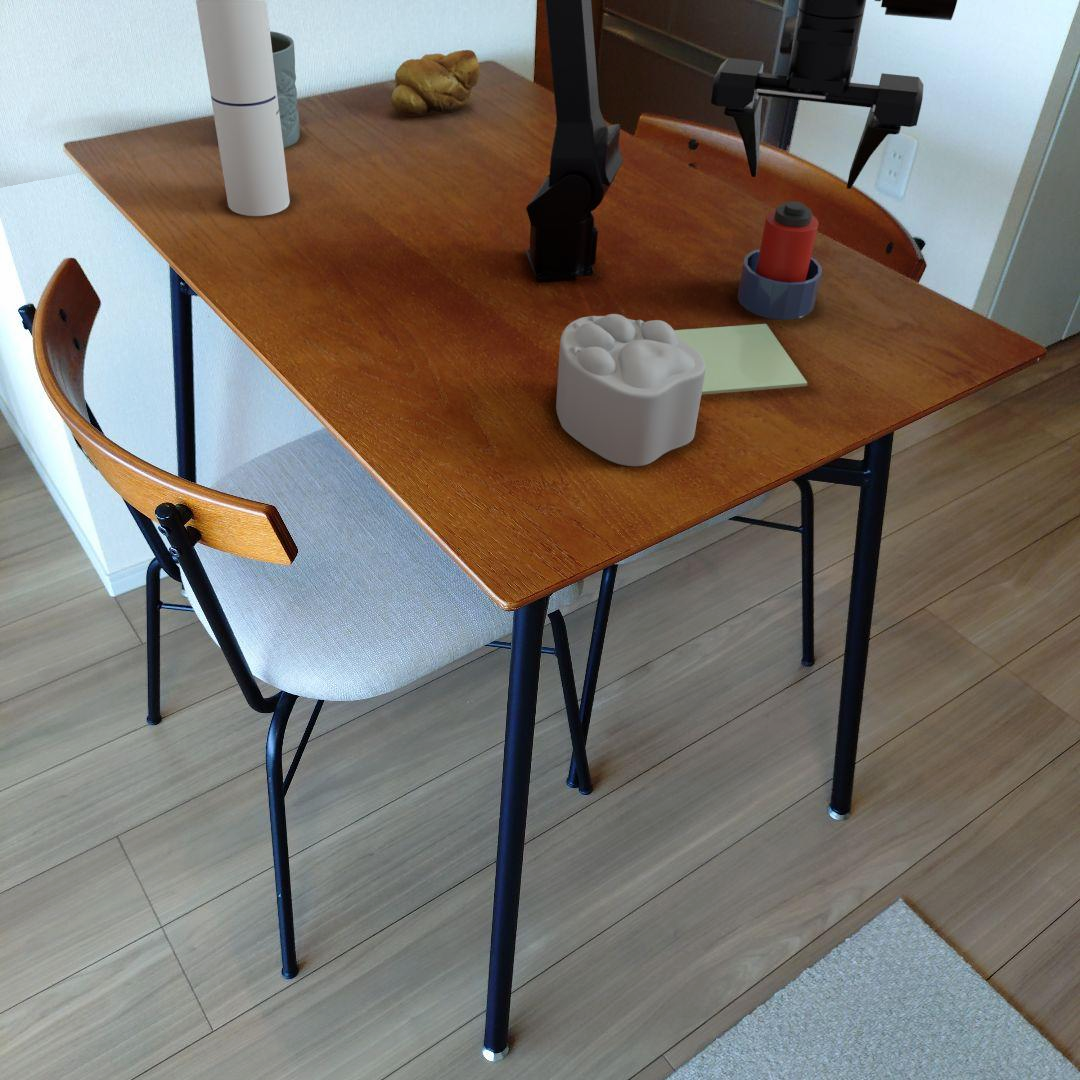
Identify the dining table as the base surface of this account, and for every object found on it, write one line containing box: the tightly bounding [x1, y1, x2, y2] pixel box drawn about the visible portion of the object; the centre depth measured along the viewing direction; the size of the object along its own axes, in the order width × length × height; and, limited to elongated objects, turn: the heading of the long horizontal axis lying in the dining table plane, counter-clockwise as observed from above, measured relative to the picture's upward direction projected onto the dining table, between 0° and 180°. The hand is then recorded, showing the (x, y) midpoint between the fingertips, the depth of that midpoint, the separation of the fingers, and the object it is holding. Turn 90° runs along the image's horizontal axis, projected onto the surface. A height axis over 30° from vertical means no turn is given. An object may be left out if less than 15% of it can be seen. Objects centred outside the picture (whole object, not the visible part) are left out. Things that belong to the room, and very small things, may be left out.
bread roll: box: [390, 49, 481, 117], centre depth 150 cm, size 13×10×8 cm
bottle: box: [756, 200, 819, 283], centre depth 110 cm, size 5×5×10 cm
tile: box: [673, 323, 808, 396], centre depth 104 cm, size 11×11×1 cm
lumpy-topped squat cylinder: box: [555, 313, 706, 467], centre depth 94 cm, size 10×13×9 cm
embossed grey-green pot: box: [270, 30, 301, 149], centre depth 138 cm, size 10×10×12 cm
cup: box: [736, 248, 823, 321], centre depth 112 cm, size 8×8×4 cm
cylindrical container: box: [195, 0, 291, 217], centre depth 119 cm, size 7×7×25 cm
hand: (800, 181), depth 105 cm, fingers open, 9 cm apart
